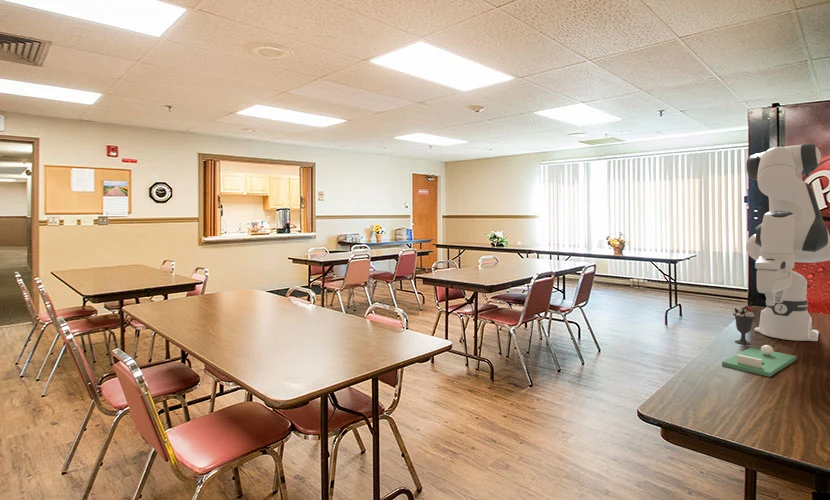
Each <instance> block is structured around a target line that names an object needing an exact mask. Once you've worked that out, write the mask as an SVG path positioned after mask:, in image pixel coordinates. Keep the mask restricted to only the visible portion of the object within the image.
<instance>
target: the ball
mask: <svg viewBox="0 0 830 500" xmlns="http://www.w3.org/2000/svg"><path fill="white" fill-rule="evenodd" d="M760 349H761V352H762V353H763V354H765V355H771V354H772V353H773V351H774V347H772V346H771V345H769V344H765V345H762V346H760Z"/></svg>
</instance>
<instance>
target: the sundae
mask: <svg viewBox="0 0 830 500" xmlns="http://www.w3.org/2000/svg"><path fill="white" fill-rule="evenodd" d="M753 304H754V303H753V302H752V301H750V303H749V304H747V305H744V306H742V307H740V308H738V309H737V308H734V309H733V310H734V312H735V313H732V315H733V316H734V319H735V327H736V329H737V331H738V332H739V333H740V335H741V336H740V338H739V339H738V340H737V339H736V340H734V343H736V344H739V345H744V346H746V345H748V346H750V345H752V342H751V341H748V340H747V339H746V334H748V333H749V332H751V329H752V325H753V322H754V319H757V315H755V314H754V312H752V311H753V310H752V308H751V307H750V306H751V305H753Z"/></svg>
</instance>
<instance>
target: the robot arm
mask: <svg viewBox="0 0 830 500" xmlns="http://www.w3.org/2000/svg"><path fill="white" fill-rule="evenodd" d="M821 160H822V154H821V151H820V150H819V148H818V147H817V145H816V144H814V143H811V142H810V143H809V142H808V143H801V144H796V145H794V144H793V145H789V146H788V145H787V146H776V147H772V148H768V149H767V150H766V151H763V152H758V153H757V152H756V153H755V154H751V155H750V156H749V157H748V158H747V159H746V162H745V172H746V174H747V175H748V177H749V178H750V179H752V180H756V181H757V187H758V189H759V191H760V192H761V193H762V194H763V195H764V196H767V197H768V210H769V211H767V212H765V213H764V214H763V218H762V222H761V223H760V224H758V225H757V226H756V227H755V228H754V229H755V233H754V234H753V235H751V236H750V237H749V238H748V240H747V241H746V245H745V249H746V252H747V254H748V256H749V257H750V258H751V259H753V260H754V261H755V263H754V268H755V269H756V290H757V292H758V293H759V294H764V296H765V298H766V299H765V306H766V307H765V308H764V309H762V310H761V311H760V318H759V323H758V324H759V325H758V326H757V327H755V328H754V329H753V330H754V331H755V332H756V333H757V332H758V333H760V334H762V335H764V336H766V337H771V338H774V339H781V340H788V341H798V342H799V341H802V342H803V341H809V342H818V341H819V333H820V332H819V330H817V329H814V326H812V317H811V315H810V313H809V311H808V310H809V299H807V291H808V280H807V278H806V277H805V276H804V275H803V274H800V273H798V272H797V271H794V270H793V269H794V268H795V263H807V264H808V263H809V264H810V263H820V262H822V263H823V262H828V261H830V232H829V229H828V227H827V224H826V223H825V220H824V219H823V216H822V212H821V210H820V207H819V204H818V201H817V199H816V196H815V193H814V191H813V188H812V186H811V185H810V183H808V182H806V181H805V182H804V180H803V175H805V177H806V178H808V177H809V176H810V174H812V173H813V172H815V171H816V170H817V168H818V167H819V165H820V162H821Z"/></svg>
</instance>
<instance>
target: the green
mask: <svg viewBox="0 0 830 500" xmlns="http://www.w3.org/2000/svg"><path fill="white" fill-rule="evenodd" d="M795 361H797V355H795V354H794V355H793V354H789V353H783V352H778V351H774V350H773V353H772V354H771V355H765V354H763V353H762V352H761V348H758V347H753V346H751V347H749V348H747V349H745V350H743V351H741V352H739V353H737V354H734V355H732V356H730V357H729V358H727V359H725V360H723V361H721V366H723V367H727V368H731V369H735V370H740V371H744V372H747V373H751V374H757V375H760V376H765V377H768V378H770V377H772V376H773V375H775V374H776V373H778V372H779V371H781V370H783V369H785V368H786V367H788V366H790V364H792V363H794V362H795Z"/></svg>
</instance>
